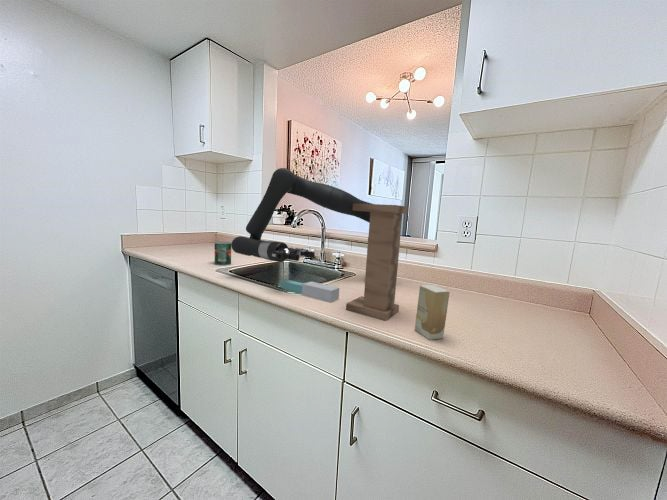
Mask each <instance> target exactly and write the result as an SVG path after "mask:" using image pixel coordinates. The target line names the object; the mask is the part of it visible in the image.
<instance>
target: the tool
mask: <svg viewBox="0 0 667 500" xmlns="http://www.w3.org/2000/svg"><path fill="white" fill-rule="evenodd" d="M279 283H280V284H279V288H280V287H281V288H283V289H282V290H284V289H285V291H289V290H290V291H289V292H291V293H296V294H300V295H301V296H304V297H308V298H312V299H315V300H320V301H323V302H327V303H334V302H336V301H338V300H339V299H340V287H337V286H334V285H329V284H324V283H320V282H315V281H308V282H299V281H295V280H291V279H287V278H286V279H281V280H280V282H279Z"/></svg>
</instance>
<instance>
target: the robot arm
mask: <svg viewBox="0 0 667 500" xmlns="http://www.w3.org/2000/svg"><path fill="white" fill-rule="evenodd" d="M286 194H290V195H295V196H298V197H301V198H304V199H306V200H308V201H310V202H312V203H313V204H315V205H318V206H320V207H322V208H324V209H327V210H330V211H333V212H336V213H340V214H343V215H347V216H353V217H356V218H359V219H361V220H363V221H364V222H367V223H369V224H370V212H366V211H353V204H373V203H372V202H368V201H365V200H362V199H360V198H358V197H357V196H355V195H353V194H351V193H349V192H347V191H346V190H343V189H341V188H339V187H335V186H332V185H329V184H325V183H321V182H316V181H311V180H309V179H306V178H303V177H302V176H300V175H297V174H296V173H294V172H292V171H291V170H290V169H288V168H285V167H280V168H277V169H276V170H275V171H273V174H272V176H271V178H270V181H269V184H268V185H267V188H266V191H265V193H264V195H263V197H262V199H261V201H260V203H259V204H258V206H257V208H256V209H255V211H254V212H253V214H252V216H251V218H250V219H249V221H248V223H247V224H246V226H245V231H246V232H247V233H248V234H249V237H247V236H235V238H234V239H233V240H231V250H232V251H233V252H234V253H236V254H239V255H243V256H247V257H250V256H253V257H256V258H260V259H263V260H267V261H272V262H277V263H283V262H284V261H295V262H299V261H300V259H301V258H309V259H315V256H316V255H315V252H314V251H309V249H305V248H299V247H295V248H293V247H289V246H288V244H286V243H285V242H283V241H276V240H275V241H274V240H263V239H262V236H263V234H264V232H265V230H266V228H267V227H268V225H269V223H270V222H271V219H272V217H273V215H274V213H275V211H276V209H277V207H278V205H279V203H280V201H281V200H282V199H283V197H285V195H286ZM368 237H369V235H368V236H367V238H368ZM366 247H367V248H366V251H367V250H368V245H367V246H366ZM365 260H366V262H365V264H366V263H367V259H365ZM364 276H365V277H366V272H365V274H364ZM365 277H364V278H365Z"/></svg>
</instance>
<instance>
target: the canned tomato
mask: <svg viewBox="0 0 667 500" xmlns="http://www.w3.org/2000/svg"><path fill="white" fill-rule="evenodd" d="M231 244H232V241H231V242H230V241H215V242H214V265H215V266H230V265H232V246H231Z"/></svg>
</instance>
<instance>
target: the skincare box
mask: <svg viewBox="0 0 667 500" xmlns="http://www.w3.org/2000/svg"><path fill="white" fill-rule="evenodd" d="M449 297H450V291H449V290H447V289H445V288H442V287H440V286H437V285H435V284H420V285H419V292H418V298H417V299H418V301H417V307H416V316H415V323H414V330H415V331H416V332H418V333H419V334H420V335H422V336H423V337H424V338H426V339H428V340H430V341H434V340H441V339H444V335H445V327H446V319H447V313H448V305H449Z"/></svg>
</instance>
